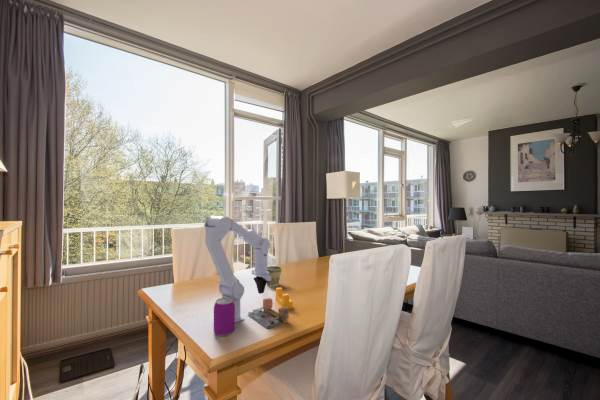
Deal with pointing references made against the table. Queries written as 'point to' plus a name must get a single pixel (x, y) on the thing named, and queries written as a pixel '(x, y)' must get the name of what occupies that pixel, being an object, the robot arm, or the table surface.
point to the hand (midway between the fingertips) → (261, 292)
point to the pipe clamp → (283, 299)
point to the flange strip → (263, 319)
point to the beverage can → (224, 316)
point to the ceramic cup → (274, 275)
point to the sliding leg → (265, 304)
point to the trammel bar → (278, 314)
